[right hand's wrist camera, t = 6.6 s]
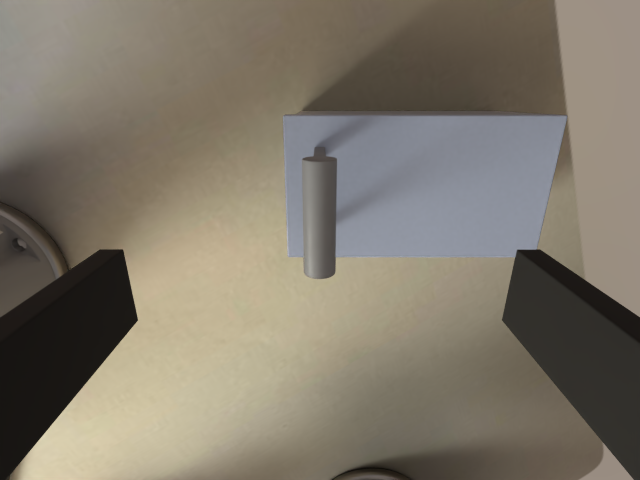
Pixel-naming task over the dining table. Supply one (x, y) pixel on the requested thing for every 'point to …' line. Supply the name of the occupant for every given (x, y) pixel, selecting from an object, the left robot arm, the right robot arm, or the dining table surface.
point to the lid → (416, 185)
